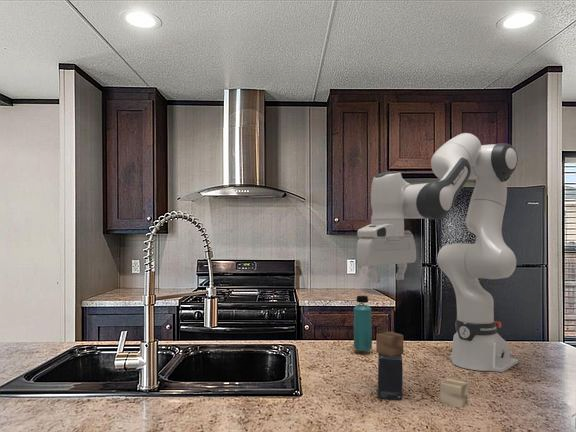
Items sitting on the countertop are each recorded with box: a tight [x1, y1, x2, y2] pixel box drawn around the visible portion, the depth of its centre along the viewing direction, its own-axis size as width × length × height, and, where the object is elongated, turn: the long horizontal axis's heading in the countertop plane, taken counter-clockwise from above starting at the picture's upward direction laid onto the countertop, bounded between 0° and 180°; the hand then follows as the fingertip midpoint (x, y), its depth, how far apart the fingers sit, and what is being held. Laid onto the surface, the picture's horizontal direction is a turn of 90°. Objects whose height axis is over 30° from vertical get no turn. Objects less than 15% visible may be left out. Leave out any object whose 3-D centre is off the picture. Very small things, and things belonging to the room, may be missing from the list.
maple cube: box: [439, 378, 469, 409], centre depth 115 cm, size 5×5×5 cm
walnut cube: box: [375, 331, 404, 357], centre depth 122 cm, size 5×5×5 cm
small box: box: [377, 353, 404, 401], centre depth 122 cm, size 11×6×10 cm, turn 169°
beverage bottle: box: [353, 295, 373, 352], centre depth 162 cm, size 6×7×20 cm
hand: (388, 281), depth 125 cm, fingers open, 8 cm apart
